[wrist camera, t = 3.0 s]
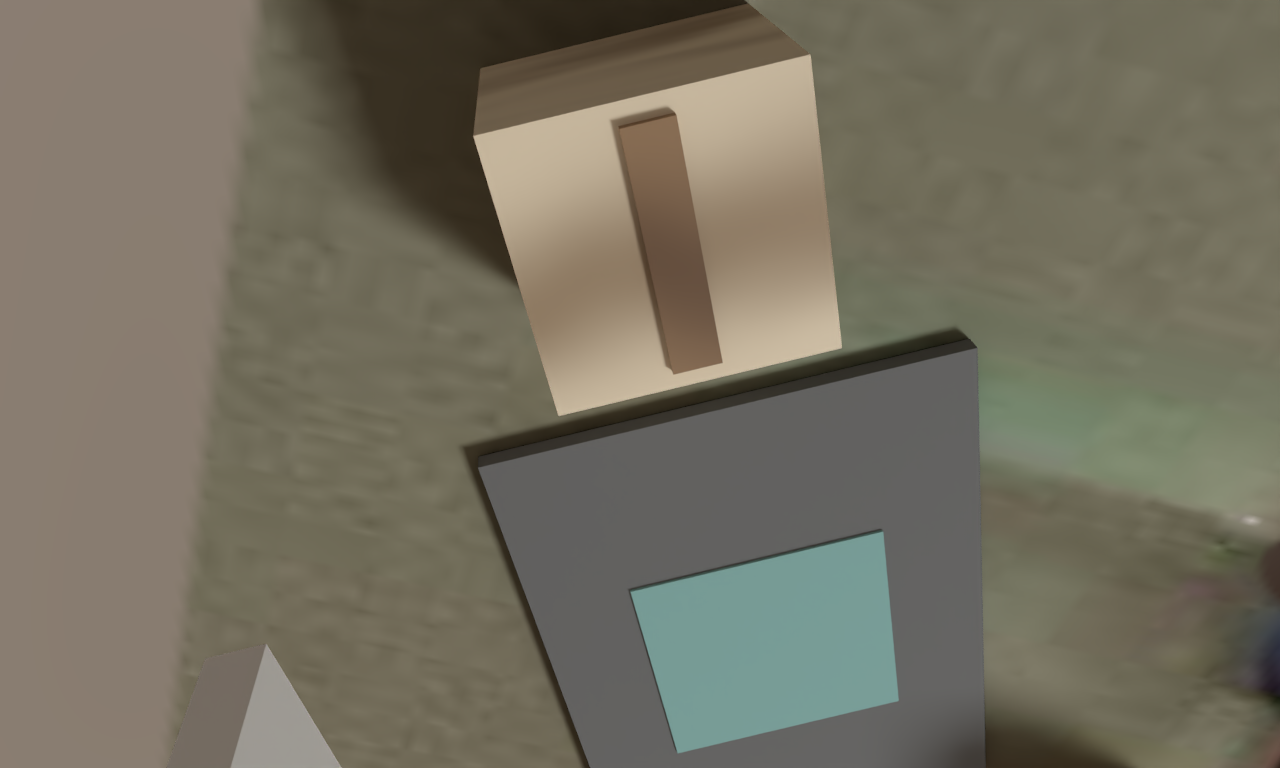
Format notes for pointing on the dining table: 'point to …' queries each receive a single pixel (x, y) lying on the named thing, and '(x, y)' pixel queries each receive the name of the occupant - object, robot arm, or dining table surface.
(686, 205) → the birch block
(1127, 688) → the dining table surface
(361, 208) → the dining table surface
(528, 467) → the rubber mat
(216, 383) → the dining table surface
